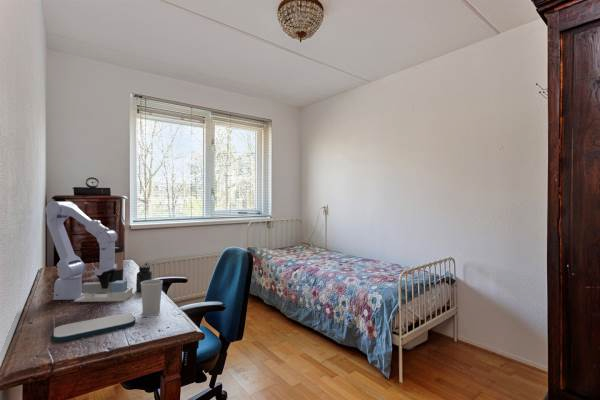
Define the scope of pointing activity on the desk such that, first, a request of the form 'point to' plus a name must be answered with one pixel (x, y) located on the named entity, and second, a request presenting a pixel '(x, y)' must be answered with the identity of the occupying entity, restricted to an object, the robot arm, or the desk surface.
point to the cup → (151, 296)
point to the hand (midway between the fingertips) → (106, 287)
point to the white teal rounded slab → (92, 327)
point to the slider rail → (106, 296)
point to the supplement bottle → (143, 276)
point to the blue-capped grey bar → (96, 288)
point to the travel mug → (119, 263)
